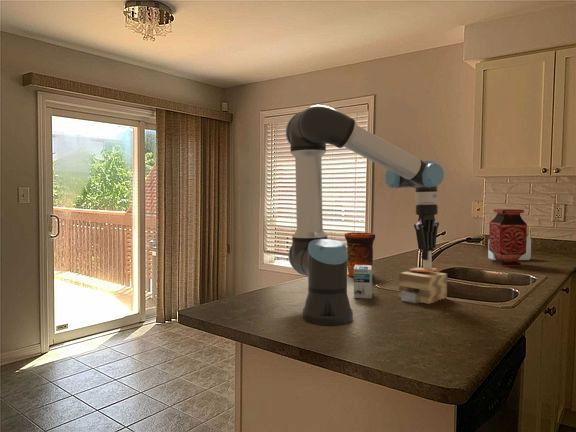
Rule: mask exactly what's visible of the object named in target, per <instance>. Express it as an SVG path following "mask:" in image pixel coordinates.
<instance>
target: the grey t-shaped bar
mask: <svg viewBox="0 0 576 432" xmlns="http://www.w3.org/2000/svg"><path fill="white" fill-rule="evenodd" d="M400 301H401V302H406V303H410V304H419V303H421V302H420V290H419V291H415V292H414V291H409V290H404V291H401V298H400Z"/></svg>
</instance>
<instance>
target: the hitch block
mask: <svg viewBox="0 0 576 432" xmlns="http://www.w3.org/2000/svg"><path fill="white" fill-rule="evenodd" d="M404 290H409V291H414V292H415V291H419V290H420V302H419V303H422V304H423V303H424V304H427V305H429V304H433V303H436V302H439V301H438V300H440V301H442V300H441V299H443V298H447V299H448V273H446V272H445V273H444V272H437V271H431V272H419V271H408V270H407V271H403V272H399V274H398V298H399V299H401V291H404ZM443 300H444V299H443ZM435 301H436V302H435Z"/></svg>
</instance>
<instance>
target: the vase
mask: <svg viewBox="0 0 576 432" xmlns="http://www.w3.org/2000/svg"><path fill="white" fill-rule="evenodd" d="M493 213H496V214H495V216H494V218H493V219H492V220H490V221H489V233H488V234H489V236H488V242H489V250H490V251H491V252H492V253H493V255H494V256H495V258H496V260H492V261H491V263H492V264H494V265H496V266H499V267H522V263H521V262H518V261H520V260H519V258H520V257H521V256H522V255H524V254H526V243H527V237H528V235H527V234H528V224H527V222H526V221H525V220H524V219H523V217H522V216H521V214H524V213H525V209H521V208H520V209H518V208H515V209H513V208H505V209H504V208H494V209H493Z"/></svg>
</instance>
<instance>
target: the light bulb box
mask: <svg viewBox="0 0 576 432" xmlns="http://www.w3.org/2000/svg"><path fill="white" fill-rule="evenodd" d="M372 275H373V264H372V265H355V266H354V276H353V298H354V299H369V300H370V299H373V277H372Z"/></svg>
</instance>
